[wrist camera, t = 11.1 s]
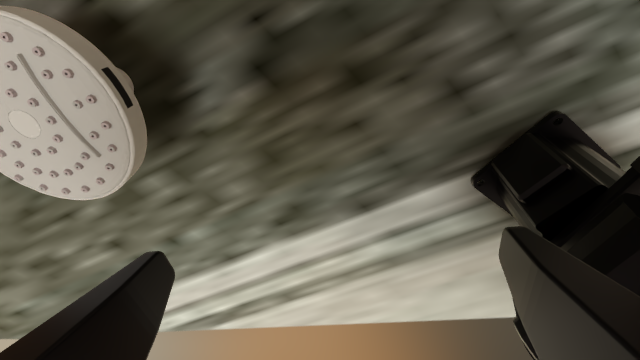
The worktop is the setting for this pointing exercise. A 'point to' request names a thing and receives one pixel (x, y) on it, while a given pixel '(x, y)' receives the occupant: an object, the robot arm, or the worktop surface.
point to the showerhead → (64, 111)
